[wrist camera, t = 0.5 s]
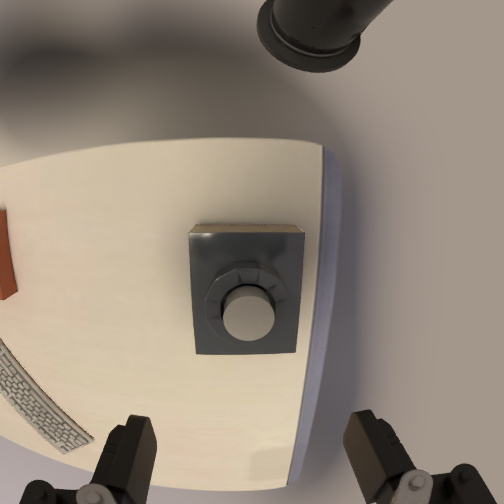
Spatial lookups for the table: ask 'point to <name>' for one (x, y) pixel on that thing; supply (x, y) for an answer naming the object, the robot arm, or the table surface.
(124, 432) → the robot arm
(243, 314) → the grey cylindrical knob
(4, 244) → the button base
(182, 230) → the table surface
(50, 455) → the table surface
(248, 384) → the table surface
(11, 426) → the table surface
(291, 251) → the push button box
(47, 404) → the keyboard
